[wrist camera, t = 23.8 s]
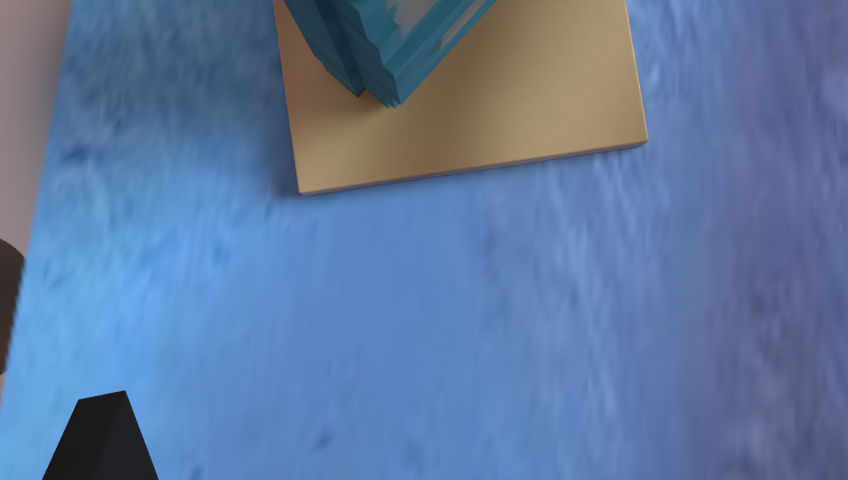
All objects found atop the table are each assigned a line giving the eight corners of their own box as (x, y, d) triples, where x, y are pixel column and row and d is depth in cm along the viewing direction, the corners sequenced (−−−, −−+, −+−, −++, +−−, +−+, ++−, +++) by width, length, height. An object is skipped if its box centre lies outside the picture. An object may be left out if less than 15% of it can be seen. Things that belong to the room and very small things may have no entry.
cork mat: (303, 197, 28) (298, 193, 27) (258, -129, 29) (252, -144, 28) (642, 146, 28) (649, 140, 27) (587, -181, 29) (593, -198, 28)
